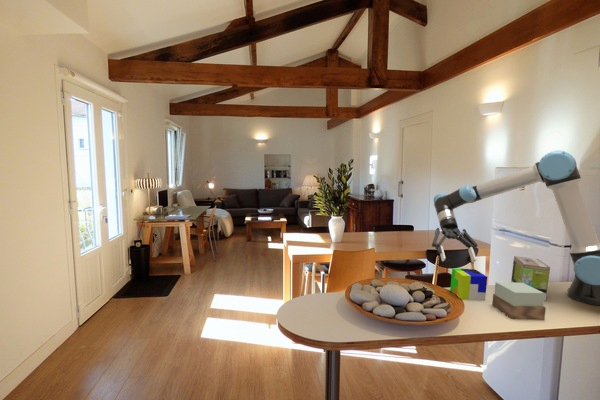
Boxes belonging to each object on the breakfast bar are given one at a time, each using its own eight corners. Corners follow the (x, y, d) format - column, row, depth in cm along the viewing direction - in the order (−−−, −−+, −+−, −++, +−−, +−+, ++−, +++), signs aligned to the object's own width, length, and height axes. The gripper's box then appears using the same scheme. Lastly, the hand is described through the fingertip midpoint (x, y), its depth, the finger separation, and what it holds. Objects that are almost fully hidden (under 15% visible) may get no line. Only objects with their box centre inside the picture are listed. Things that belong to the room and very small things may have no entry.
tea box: (546, 301, 141) (551, 266, 139) (519, 297, 144) (522, 263, 142) (535, 289, 155) (538, 258, 153) (509, 286, 158) (513, 255, 157)
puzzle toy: (485, 300, 139) (487, 276, 138) (460, 299, 139) (462, 275, 138) (473, 291, 149) (475, 269, 148) (450, 290, 149) (452, 268, 148)
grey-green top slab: (521, 295, 134) (522, 282, 133) (542, 306, 123) (544, 293, 122) (494, 294, 133) (495, 282, 133) (513, 306, 122) (515, 292, 122)
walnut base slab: (522, 307, 134) (523, 294, 134) (544, 320, 123) (545, 307, 122) (492, 306, 134) (493, 293, 134) (511, 319, 122) (512, 306, 122)
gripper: (470, 227, 168) (483, 265, 154) (419, 224, 168) (428, 263, 154) (476, 218, 162) (490, 257, 149) (424, 215, 162) (433, 254, 149)
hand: (459, 260), depth 152 cm, fingers open, 13 cm apart
